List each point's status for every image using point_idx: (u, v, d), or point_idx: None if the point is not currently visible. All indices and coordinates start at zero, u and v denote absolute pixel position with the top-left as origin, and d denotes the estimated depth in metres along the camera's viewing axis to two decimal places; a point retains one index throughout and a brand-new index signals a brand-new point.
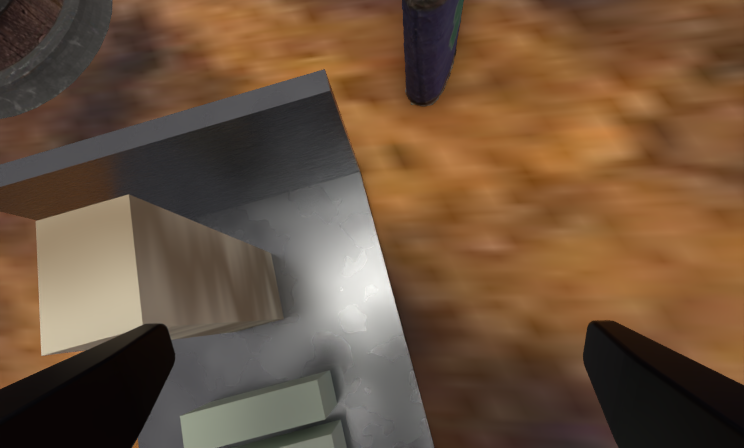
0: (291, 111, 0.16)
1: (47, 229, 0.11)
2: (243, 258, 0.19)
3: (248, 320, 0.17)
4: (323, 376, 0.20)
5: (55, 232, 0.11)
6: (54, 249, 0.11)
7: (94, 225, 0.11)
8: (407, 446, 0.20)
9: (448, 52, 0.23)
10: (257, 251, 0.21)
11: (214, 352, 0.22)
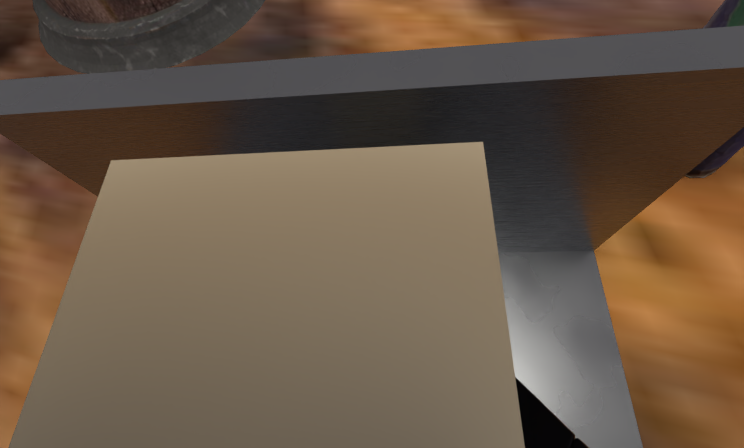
0: (684, 95, 0.07)
1: (141, 200, 0.03)
2: None
3: None
4: None
5: (165, 217, 0.03)
6: (139, 284, 0.03)
7: (325, 227, 0.03)
8: None
9: None
10: None
11: None
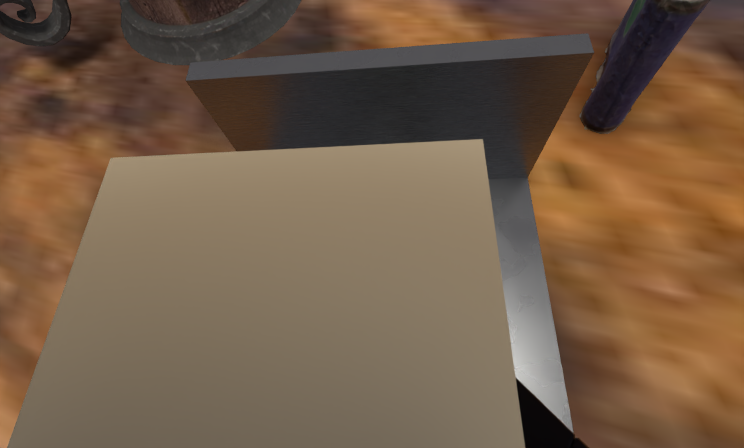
0: (538, 69, 0.15)
1: (140, 198, 0.03)
2: None
3: None
4: None
5: (165, 214, 0.03)
6: (139, 281, 0.03)
7: (325, 224, 0.03)
8: None
9: None
10: None
11: None
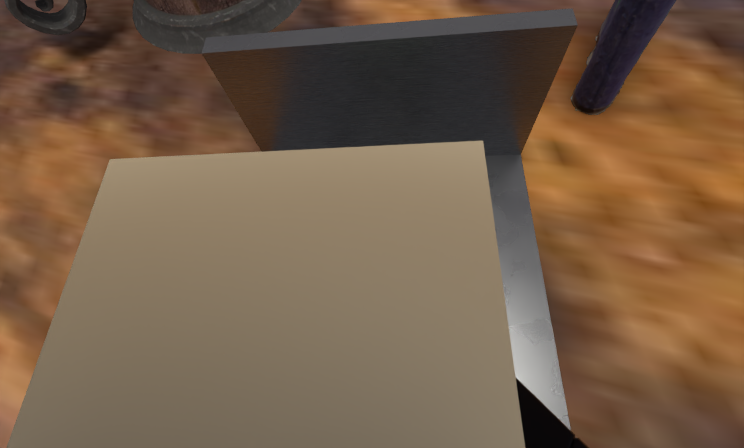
0: (527, 41, 0.16)
1: (139, 200, 0.03)
2: None
3: None
4: None
5: (164, 215, 0.03)
6: (137, 283, 0.03)
7: (325, 226, 0.03)
8: None
9: (636, 61, 0.23)
10: None
11: None
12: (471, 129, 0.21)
